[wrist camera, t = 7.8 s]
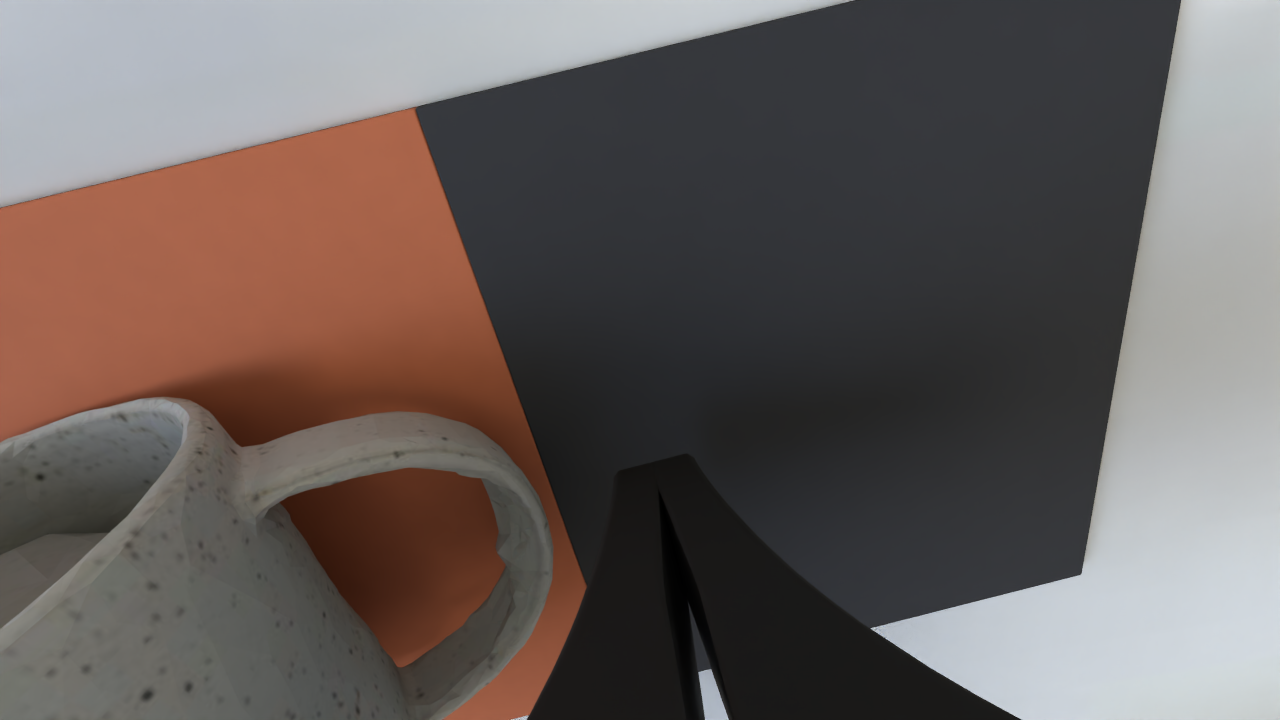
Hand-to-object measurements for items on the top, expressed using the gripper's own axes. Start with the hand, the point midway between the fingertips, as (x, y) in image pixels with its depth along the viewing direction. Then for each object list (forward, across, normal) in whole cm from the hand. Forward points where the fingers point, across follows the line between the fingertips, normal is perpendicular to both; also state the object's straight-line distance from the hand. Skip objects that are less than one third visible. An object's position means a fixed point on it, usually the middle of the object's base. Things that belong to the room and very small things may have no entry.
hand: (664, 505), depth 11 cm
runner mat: (+2, +2, 0) cm, 3 cm away
